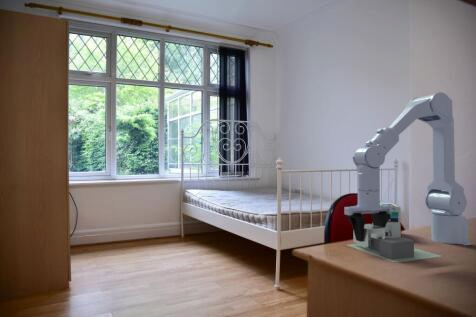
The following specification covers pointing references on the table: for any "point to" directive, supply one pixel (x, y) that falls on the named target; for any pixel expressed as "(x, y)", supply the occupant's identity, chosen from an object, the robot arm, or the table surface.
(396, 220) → the light bulb box
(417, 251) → the thin light green sheet
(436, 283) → the table surface
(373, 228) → the pale grey block
